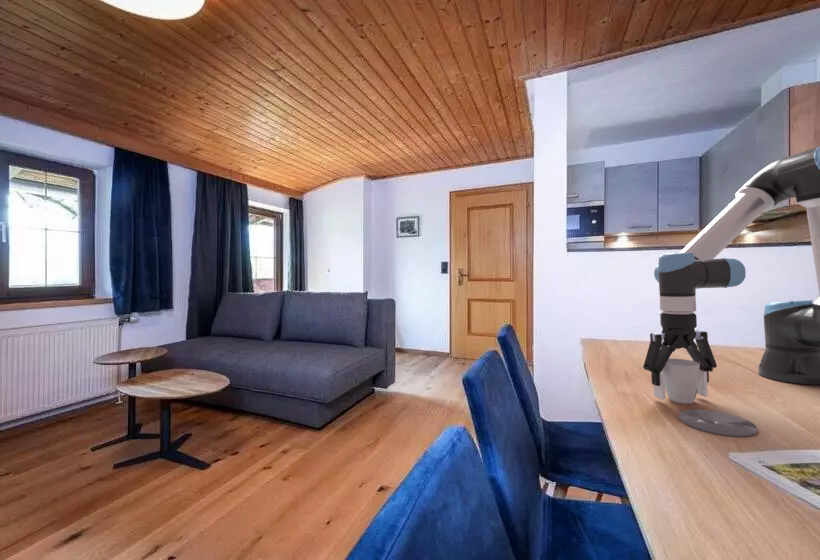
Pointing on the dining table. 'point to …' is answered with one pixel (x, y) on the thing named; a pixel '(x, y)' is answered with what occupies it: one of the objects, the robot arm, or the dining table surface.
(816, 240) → the robot arm
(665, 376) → the cup
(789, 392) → the dining table surface
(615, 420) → the dining table surface
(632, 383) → the dining table surface
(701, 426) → the coaster
